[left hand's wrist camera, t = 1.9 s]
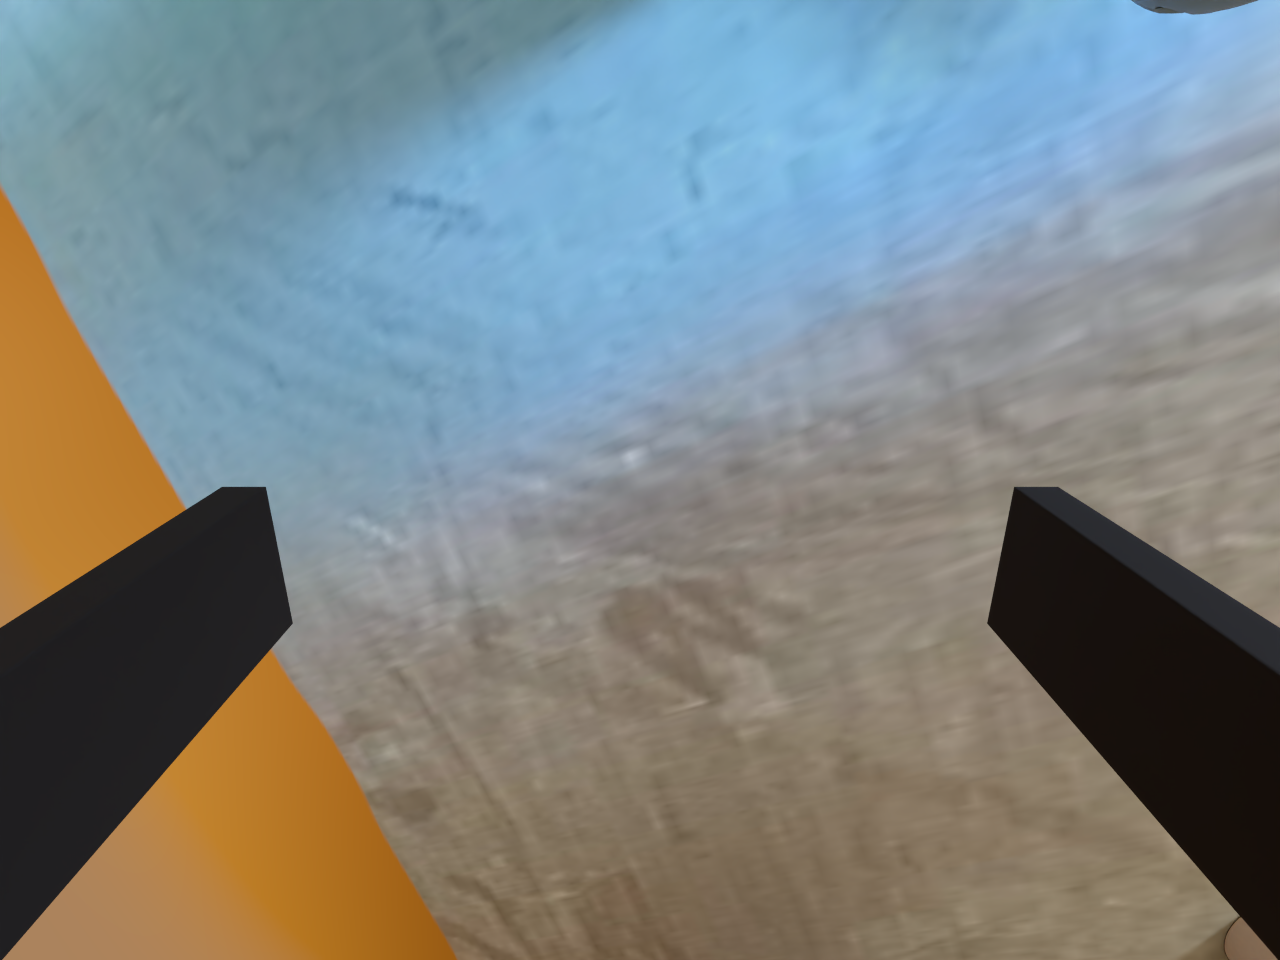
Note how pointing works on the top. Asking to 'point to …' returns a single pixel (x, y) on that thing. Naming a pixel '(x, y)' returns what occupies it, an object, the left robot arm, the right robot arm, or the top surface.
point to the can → (1245, 944)
